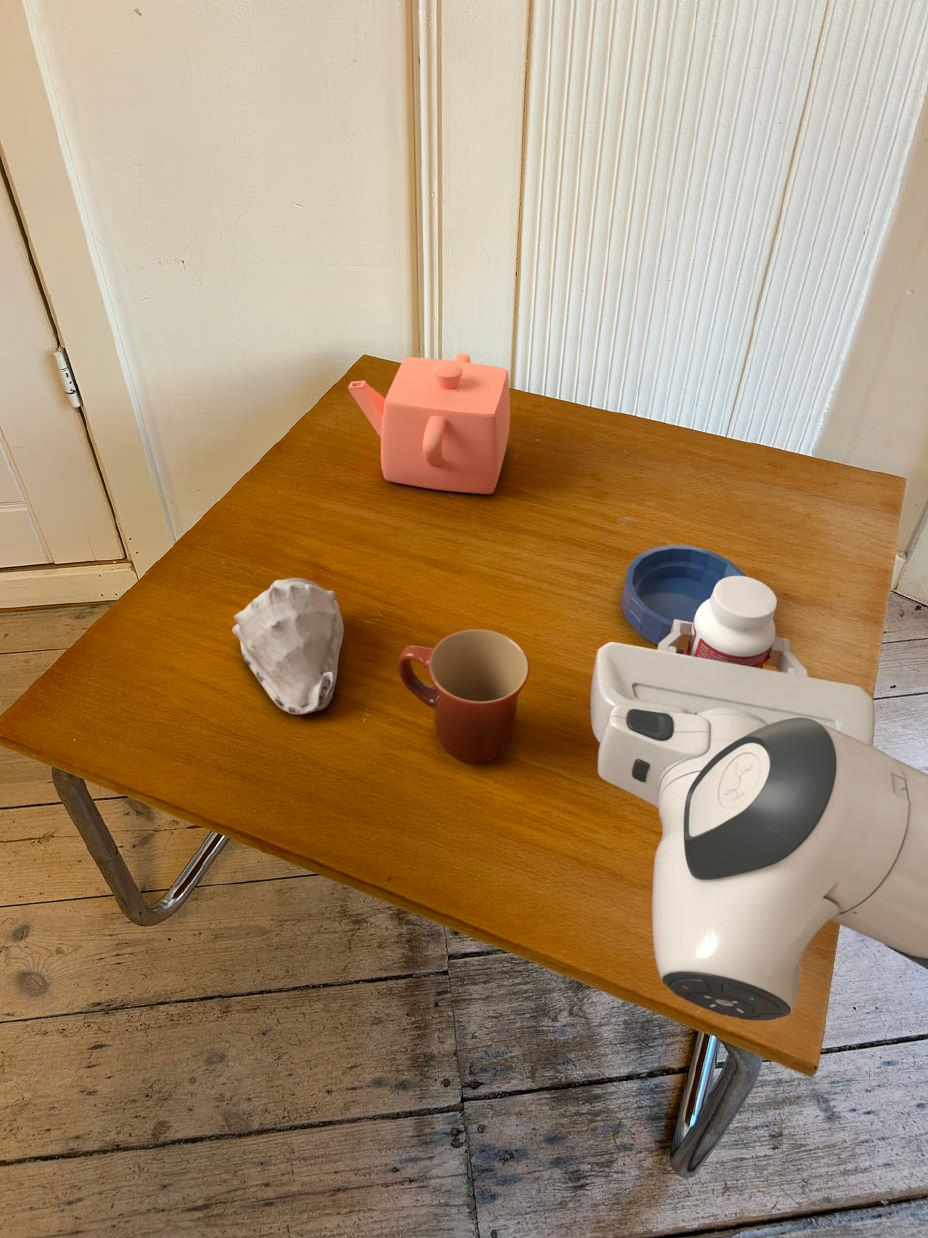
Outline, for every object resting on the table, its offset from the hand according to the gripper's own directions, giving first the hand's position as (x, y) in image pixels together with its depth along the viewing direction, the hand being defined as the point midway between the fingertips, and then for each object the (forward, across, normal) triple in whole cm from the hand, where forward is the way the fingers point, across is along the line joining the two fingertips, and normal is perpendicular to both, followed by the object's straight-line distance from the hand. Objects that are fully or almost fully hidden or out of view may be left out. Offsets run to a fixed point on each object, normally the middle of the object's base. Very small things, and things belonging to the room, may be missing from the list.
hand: (728, 634), depth 69 cm
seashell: (+3, +38, +17) cm, 42 cm away
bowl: (+20, +1, +17) cm, 26 cm away
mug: (-2, +21, +17) cm, 27 cm away
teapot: (+40, +35, +17) cm, 56 cm away
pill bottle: (-1, 0, +6) cm, 6 cm away
